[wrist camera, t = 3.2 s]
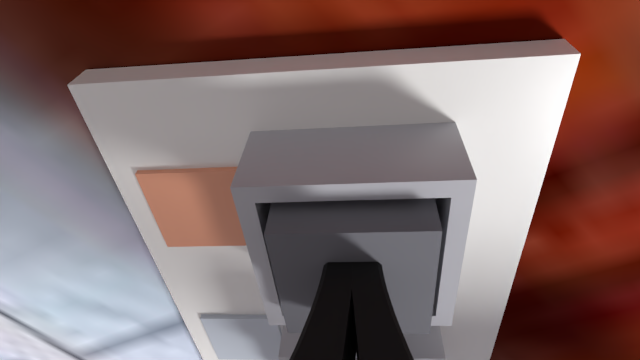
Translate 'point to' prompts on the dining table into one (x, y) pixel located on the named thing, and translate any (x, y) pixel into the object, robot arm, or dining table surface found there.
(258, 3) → the dining table surface
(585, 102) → the dining table surface
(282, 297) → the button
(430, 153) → the button board
